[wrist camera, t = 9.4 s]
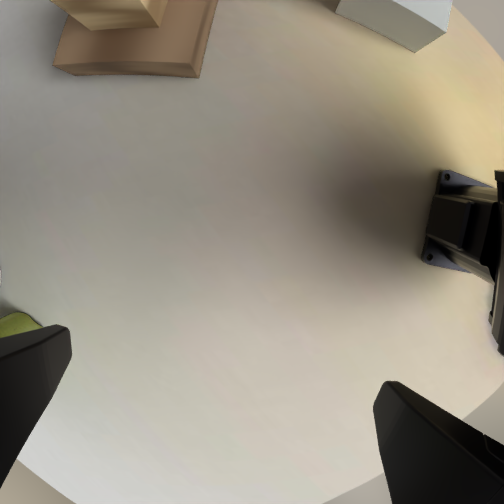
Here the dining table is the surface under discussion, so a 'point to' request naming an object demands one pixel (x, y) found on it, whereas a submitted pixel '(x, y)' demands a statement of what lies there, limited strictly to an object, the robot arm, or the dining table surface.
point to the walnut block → (140, 44)
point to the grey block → (400, 19)
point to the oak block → (115, 13)
